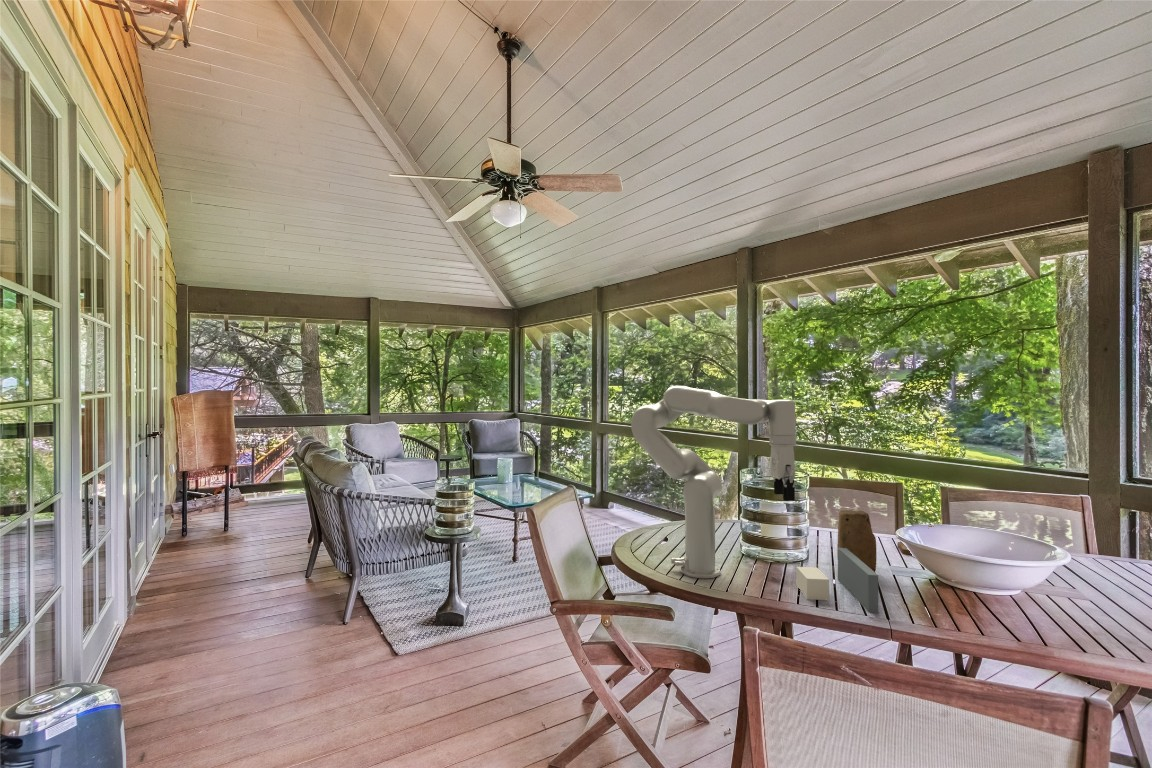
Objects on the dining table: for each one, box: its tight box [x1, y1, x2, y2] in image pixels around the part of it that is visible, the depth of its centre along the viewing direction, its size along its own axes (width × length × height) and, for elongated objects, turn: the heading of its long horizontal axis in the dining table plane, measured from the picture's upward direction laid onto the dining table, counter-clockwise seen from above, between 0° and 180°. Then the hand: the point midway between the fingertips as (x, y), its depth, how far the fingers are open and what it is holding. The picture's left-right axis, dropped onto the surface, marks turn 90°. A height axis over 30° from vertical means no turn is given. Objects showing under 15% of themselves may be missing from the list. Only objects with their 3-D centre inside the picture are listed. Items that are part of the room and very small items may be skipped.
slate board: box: [837, 548, 879, 614], centre depth 155 cm, size 2×24×10 cm, turn 172°
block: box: [836, 509, 877, 573], centre depth 173 cm, size 11×8×20 cm
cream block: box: [795, 566, 830, 601], centre depth 157 cm, size 6×10×6 cm, turn 174°
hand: (784, 497), depth 161 cm, fingers open, 9 cm apart
